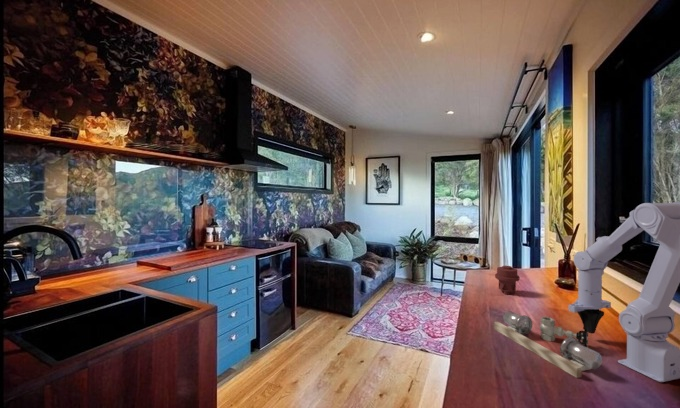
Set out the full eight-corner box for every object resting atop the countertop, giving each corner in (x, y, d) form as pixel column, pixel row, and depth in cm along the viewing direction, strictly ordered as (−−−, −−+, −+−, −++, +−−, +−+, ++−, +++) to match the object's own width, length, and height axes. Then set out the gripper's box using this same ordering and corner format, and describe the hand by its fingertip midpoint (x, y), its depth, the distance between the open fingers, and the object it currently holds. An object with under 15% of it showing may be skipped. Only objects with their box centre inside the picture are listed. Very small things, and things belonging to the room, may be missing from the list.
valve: (538, 340, 97) (586, 353, 89) (538, 320, 96) (586, 331, 88) (541, 333, 101) (588, 344, 93) (541, 313, 101) (588, 323, 93)
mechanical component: (507, 297, 136) (490, 290, 146) (524, 294, 139) (506, 288, 149) (507, 270, 136) (490, 265, 145) (524, 267, 139) (506, 263, 148)
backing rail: (581, 376, 77) (581, 367, 77) (576, 377, 77) (576, 368, 77) (497, 328, 105) (497, 321, 105) (493, 329, 105) (493, 321, 105)
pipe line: (604, 372, 79) (604, 347, 79) (586, 376, 78) (586, 351, 77) (515, 325, 107) (515, 307, 107) (501, 328, 106) (501, 309, 106)
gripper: (594, 283, 101) (594, 324, 102) (559, 287, 98) (559, 329, 98) (618, 290, 95) (618, 333, 95) (581, 294, 91) (581, 339, 92)
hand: (589, 332), depth 96 cm, fingers closed
